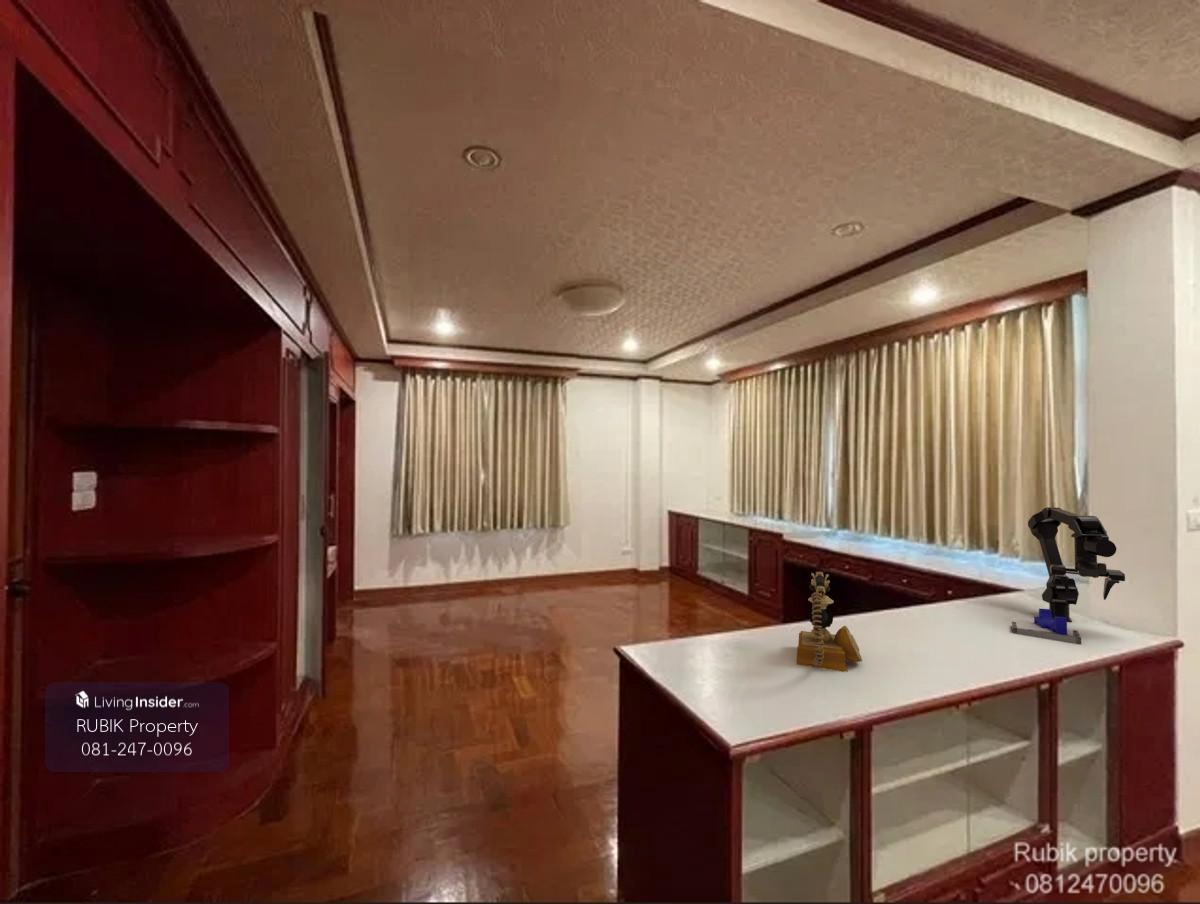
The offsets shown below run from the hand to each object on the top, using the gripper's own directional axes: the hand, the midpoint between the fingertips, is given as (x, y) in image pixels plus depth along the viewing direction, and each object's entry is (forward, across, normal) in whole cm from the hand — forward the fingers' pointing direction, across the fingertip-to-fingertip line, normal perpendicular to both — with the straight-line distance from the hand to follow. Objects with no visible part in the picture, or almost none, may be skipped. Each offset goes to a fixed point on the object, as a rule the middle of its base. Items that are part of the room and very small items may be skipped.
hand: (1086, 597), depth 183 cm
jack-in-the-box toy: (+12, -64, -85) cm, 107 cm away
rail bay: (+12, -12, -13) cm, 21 cm away
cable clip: (+12, -10, -3) cm, 16 cm away
